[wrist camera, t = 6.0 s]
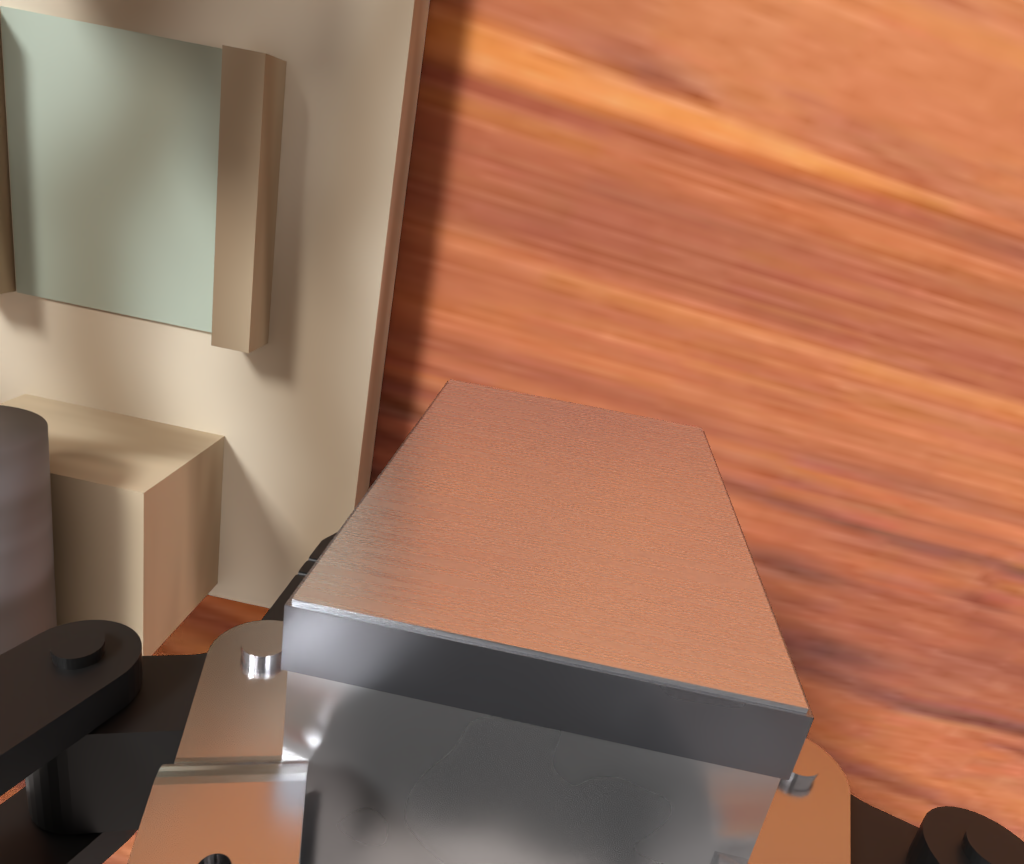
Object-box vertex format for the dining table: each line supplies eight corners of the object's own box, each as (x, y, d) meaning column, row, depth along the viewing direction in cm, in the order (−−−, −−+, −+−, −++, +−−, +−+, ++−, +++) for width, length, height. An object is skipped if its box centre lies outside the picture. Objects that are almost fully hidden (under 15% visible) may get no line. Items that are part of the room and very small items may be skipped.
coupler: (704, 427, 13) (816, 712, 6) (628, 698, 15) (650, 1126, 8) (448, 378, 13) (283, 600, 6) (410, 651, 15) (260, 1030, 8)
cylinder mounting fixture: (471, -334, 16) (355, -845, 8) (355, 597, 24) (241, 800, 16) (-141, -440, 16) (-828, -1022, 8) (-47, 509, 24) (-347, 666, 17)
